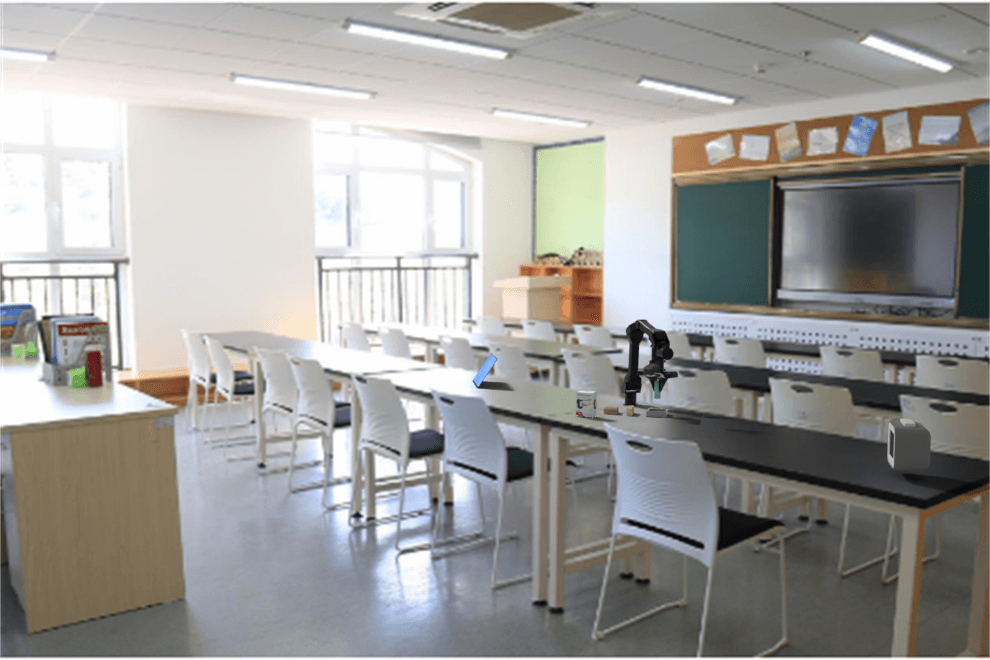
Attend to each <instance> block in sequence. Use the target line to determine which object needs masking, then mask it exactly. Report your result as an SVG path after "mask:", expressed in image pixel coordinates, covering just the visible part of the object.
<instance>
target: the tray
mask: <svg viewBox="0 0 990 660" xmlns="http://www.w3.org/2000/svg"><path fill="white" fill-rule="evenodd" d="M656 408H657V407H648V409H646V410H645V416H646V418H647V417H648V418H665V419H666V418H667V417H668V415H669V409H668V408H663V409H656Z"/></svg>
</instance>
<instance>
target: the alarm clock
mask: <svg viewBox="0 0 990 660" xmlns="http://www.w3.org/2000/svg"><path fill="white" fill-rule="evenodd" d="M887 422H888V423H887V439H886V440H887V442H886V443H887V444H886V445H887V446H886V455H887V456H886V459H887V463H888V464H889V465H890V467H891V469H892V470H905V471H918V472H919V471H926V470H927V469H928V468H929V466H930V464H931V451H932V450H931V447H932V446H931V445H932V443H931V442H932V440H931V439H932V436H931V432H930V431H929V430H928V429H927V428H926V426H924V425H923V424H922V423H921V422H917V421H914V420H912V419H911V418H900V420H889V421H887Z"/></svg>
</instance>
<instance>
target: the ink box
mask: <svg viewBox="0 0 990 660" xmlns="http://www.w3.org/2000/svg"><path fill="white" fill-rule="evenodd" d="M597 394H598V392H597V391H594V390H593V391H592V390H579V391H578V390H577V391H576V392H575V416H576V415H578V416H586V417H595V416H596V417H597V413H598V412H597V408H598V407H597V403H598V402H597V398H598V397H597ZM596 417H595V418H596Z"/></svg>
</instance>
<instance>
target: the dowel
mask: <svg viewBox="0 0 990 660" xmlns="http://www.w3.org/2000/svg"><path fill="white" fill-rule="evenodd" d="M653 392H654V395H653V397H654V399H656V400H657V399H658V400H660V399H661V394H662V391H661V392H659V380H657V381H654V391H653Z"/></svg>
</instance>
